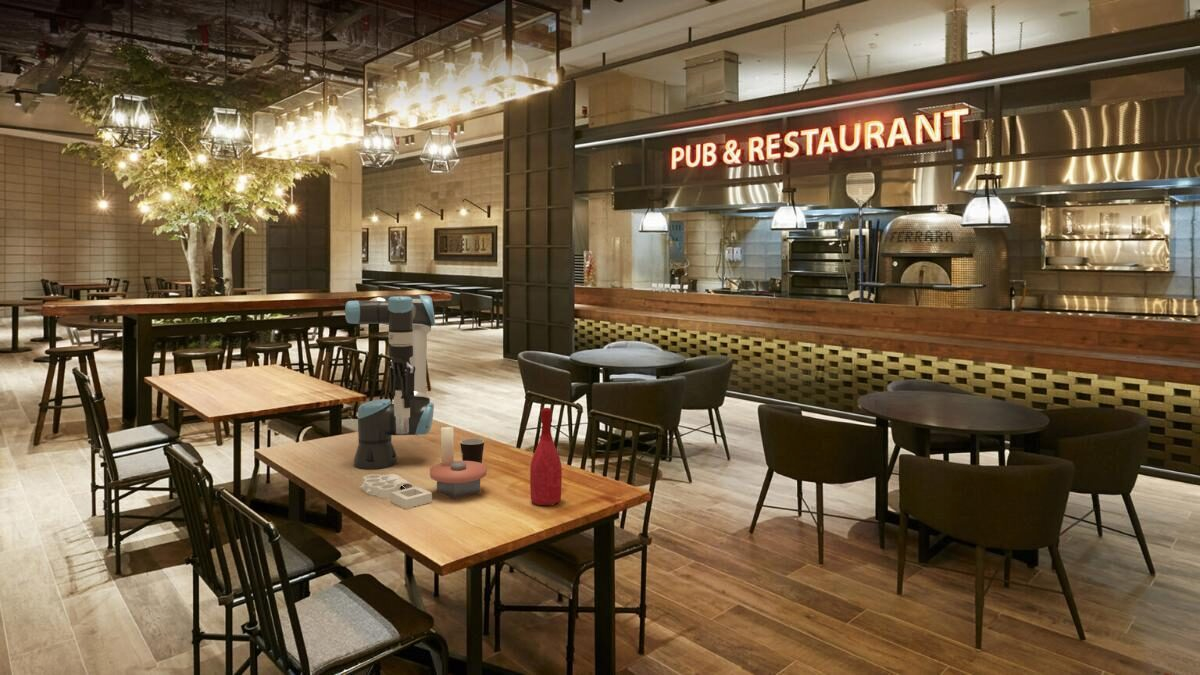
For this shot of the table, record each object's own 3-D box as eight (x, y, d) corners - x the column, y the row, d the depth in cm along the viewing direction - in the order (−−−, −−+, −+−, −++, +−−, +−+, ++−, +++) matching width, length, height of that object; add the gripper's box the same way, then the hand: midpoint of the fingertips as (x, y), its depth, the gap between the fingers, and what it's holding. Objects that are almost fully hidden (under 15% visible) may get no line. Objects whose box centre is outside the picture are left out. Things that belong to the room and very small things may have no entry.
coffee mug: (479, 472, 255) (479, 445, 254) (456, 470, 257) (456, 443, 256) (490, 463, 266) (490, 437, 265) (468, 462, 268) (468, 435, 267)
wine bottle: (549, 509, 219) (549, 412, 216) (523, 503, 224) (523, 408, 221) (567, 500, 227) (568, 407, 224) (542, 494, 232) (543, 403, 229)
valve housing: (436, 492, 233) (436, 475, 233) (462, 485, 240) (462, 468, 240) (454, 499, 226) (454, 482, 226) (480, 492, 233) (480, 475, 233)
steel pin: (393, 432, 233) (392, 389, 231) (404, 430, 235) (404, 388, 234) (399, 434, 230) (399, 391, 228) (411, 432, 233) (410, 390, 231)
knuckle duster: (416, 493, 233) (372, 502, 224) (394, 479, 247) (352, 487, 238) (416, 483, 233) (372, 492, 224) (394, 470, 247) (352, 477, 238)
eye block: (391, 501, 223) (390, 492, 223) (416, 495, 230) (416, 486, 229) (406, 509, 217) (405, 499, 217) (431, 502, 223) (431, 493, 223)
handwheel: (447, 486, 220) (447, 442, 218) (419, 473, 233) (419, 431, 232) (497, 475, 232) (497, 433, 230) (467, 463, 245) (467, 423, 244)
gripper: (377, 343, 233) (378, 414, 235) (403, 348, 221) (405, 422, 223) (398, 341, 238) (399, 410, 241) (425, 346, 226) (426, 419, 229)
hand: (402, 416), depth 232 cm, fingers closed on steel pin, 4 cm apart
